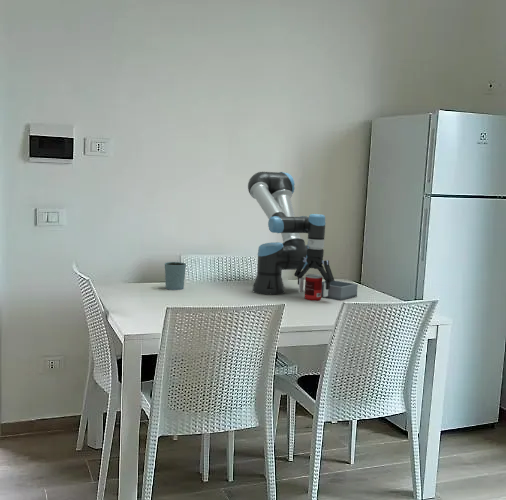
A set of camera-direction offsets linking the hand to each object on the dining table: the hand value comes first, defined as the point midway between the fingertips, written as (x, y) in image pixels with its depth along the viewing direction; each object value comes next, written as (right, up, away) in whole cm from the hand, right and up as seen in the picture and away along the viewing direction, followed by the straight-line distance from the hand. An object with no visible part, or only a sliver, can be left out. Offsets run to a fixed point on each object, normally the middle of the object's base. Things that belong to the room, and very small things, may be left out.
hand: (313, 294), depth 318 cm
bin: (+12, -2, +10) cm, 15 cm away
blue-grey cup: (-65, +2, +12) cm, 66 cm away
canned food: (0, -2, 0) cm, 2 cm away
